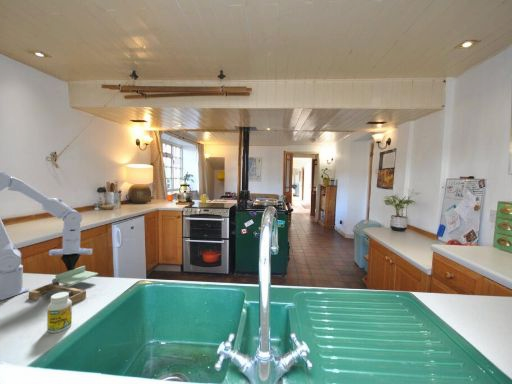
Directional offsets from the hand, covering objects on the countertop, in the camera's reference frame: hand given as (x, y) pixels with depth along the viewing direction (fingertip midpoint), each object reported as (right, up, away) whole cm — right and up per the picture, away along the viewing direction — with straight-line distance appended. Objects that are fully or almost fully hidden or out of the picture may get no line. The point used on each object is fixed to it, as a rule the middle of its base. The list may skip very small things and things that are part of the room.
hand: (70, 271), depth 97 cm
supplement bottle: (+20, -6, -29) cm, 36 cm away
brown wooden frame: (+6, -5, -14) cm, 16 cm away
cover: (+5, -1, -4) cm, 7 cm away
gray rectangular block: (+7, -5, -13) cm, 16 cm away
